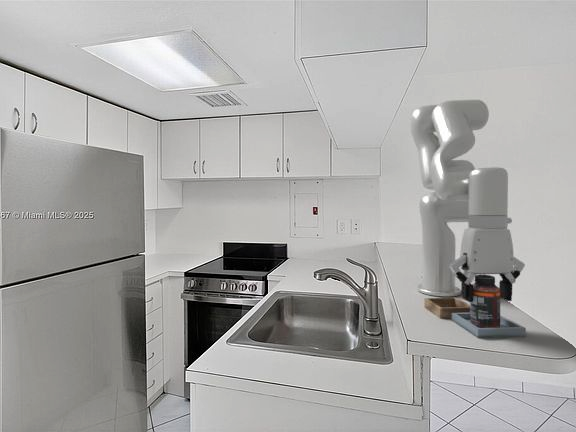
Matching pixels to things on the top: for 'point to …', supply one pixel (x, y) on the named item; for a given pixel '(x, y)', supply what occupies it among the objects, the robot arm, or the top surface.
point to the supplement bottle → (485, 303)
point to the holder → (446, 306)
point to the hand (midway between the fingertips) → (486, 299)
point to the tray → (505, 329)
